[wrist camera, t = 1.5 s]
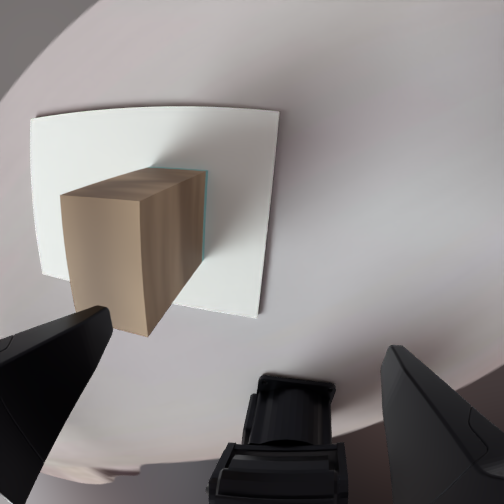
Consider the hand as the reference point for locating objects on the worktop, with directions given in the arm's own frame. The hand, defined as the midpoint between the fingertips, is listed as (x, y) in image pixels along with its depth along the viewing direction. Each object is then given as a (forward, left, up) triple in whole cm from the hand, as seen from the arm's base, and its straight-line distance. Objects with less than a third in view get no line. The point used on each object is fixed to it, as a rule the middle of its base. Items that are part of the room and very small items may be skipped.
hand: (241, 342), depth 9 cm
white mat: (+10, 0, -12) cm, 16 cm away
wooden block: (+6, 0, -12) cm, 13 cm away
